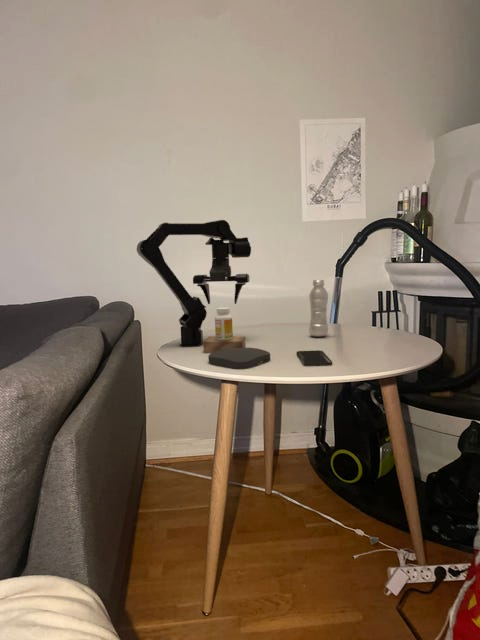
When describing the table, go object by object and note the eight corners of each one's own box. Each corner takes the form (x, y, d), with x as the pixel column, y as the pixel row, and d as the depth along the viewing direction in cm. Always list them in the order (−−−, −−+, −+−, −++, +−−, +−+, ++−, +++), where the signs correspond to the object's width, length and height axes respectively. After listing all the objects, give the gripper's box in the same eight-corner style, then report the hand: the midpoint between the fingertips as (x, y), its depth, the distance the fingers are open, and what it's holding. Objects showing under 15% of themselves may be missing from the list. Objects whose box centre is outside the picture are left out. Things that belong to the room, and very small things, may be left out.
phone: (322, 350, 128) (333, 362, 113) (322, 354, 128) (333, 366, 113) (295, 351, 128) (303, 363, 113) (295, 354, 128) (303, 367, 113)
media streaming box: (202, 364, 120) (202, 353, 120) (236, 354, 131) (236, 344, 131) (242, 372, 111) (242, 360, 110) (275, 360, 122) (275, 350, 121)
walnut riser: (203, 353, 132) (203, 341, 132) (209, 347, 140) (208, 336, 140) (242, 353, 131) (242, 341, 130) (245, 347, 138) (245, 336, 138)
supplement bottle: (233, 337, 137) (232, 306, 136) (231, 340, 132) (230, 309, 130) (217, 337, 138) (215, 307, 136) (214, 340, 132) (213, 309, 131)
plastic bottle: (306, 335, 155) (306, 280, 152) (324, 334, 156) (324, 279, 153) (312, 339, 149) (312, 281, 146) (331, 337, 150) (331, 280, 147)
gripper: (187, 259, 139) (189, 307, 141) (244, 257, 136) (246, 306, 139) (195, 258, 150) (197, 303, 152) (249, 257, 147) (250, 302, 150)
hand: (222, 304), depth 148 cm, fingers open, 9 cm apart
